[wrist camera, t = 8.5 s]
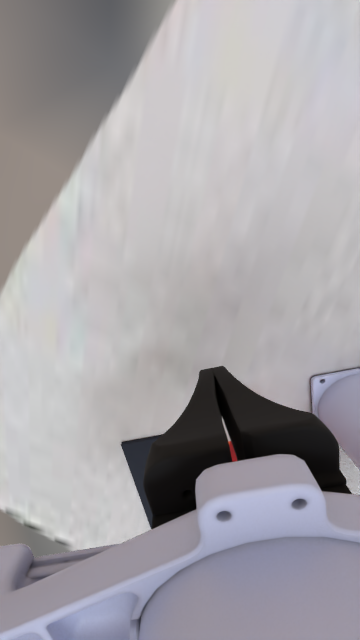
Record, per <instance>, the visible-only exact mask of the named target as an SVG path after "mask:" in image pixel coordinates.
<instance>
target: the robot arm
mask: <svg viewBox="0 0 360 640" xmlns="http://www.w3.org/2000/svg"><path fill="white" fill-rule="evenodd" d="M321 379H323V380H322V381H320V380H321ZM311 395H312V413H308V412H304V411H299V410H295V409H292V408H289V407H285V406H282V405H280V404H277V403H275V402H272V401H270V400H268V399H266V398H264V397H262V396H260V395H258V394H256V393H255V392H253V391H252V390H250V389H249V388H247V387H246V386H245V385H243V384H242V383H241V382H240V381H238V380H237V379H236V378H235V377H234V376H233V375H232V374H231V373H230V372H229V371H228V370H227V369H226V368H225V367H223V366H220V367H215V368H209V369H204V370H201V371H200V372H199V379H198V382H197V385H196V388H195V391H194V393H193V395H192V398H191V400H190V402H189V404H188V405H187V407H186V409H185V410H184V412H183V413H182V415H181V416H180V417H179V419H178V420H177V421H176V422H175V424H174V425H173V426H172V427H171V428H170V429H169V430H168V431H167V432H165V433H164V434H163V435H162V436H161V437H159V438H158V439H157V440H156V441H154V442H153V443H152V445H151V447H150V451H149V454H148V457H147V461H146V465H145V472H144V480H143V487H144V492H145V495H146V497H147V500H148V503H149V506H150V509H151V512H152V515H153V518H152V530H149V531H147V532H145V533H143V534H141V535H138V536H136V537H134V538H132V539H130V540H127V541H125V542H123V543H121V544H115V545H109V546H103V547H96V548H90V549H84V550H77V551H71V552H65V553H59V554H53V555H46V556H40V557H34V556H33V554H32V551H31V549H30V548H29V547H28V546H27V545H25V544H12V545H6V546H0V640H360V495H355V494H352V493H351V492H350V490H349V489H348V487H347V486H346V479H345V477H344V476H343V474H342V473H341V471H340V470H339V446H338V443H339V445H340V446H341V447H342V448H343V450H344V451H345V452H346V453H347V455H348V456H349V457H350V459H351V460H352V461H353V462H354V464H355V465H356V466H357V467H358V469H359V470H360V368H356V369H351V370H346V371H340V372H335V373H330V374H324V375H319V376H315V377H313V378H312V379H311ZM222 418H223V420H224V423H225V426H226V429H227V431H228V434H229V437H230V440H231V442H232V445H233V448H234V451H235V454H236V457H237V461H235V462H232V457H231V451H230V446H229V442H228V438H227V435H226V432H225V429H224V426H223V422H222Z"/></svg>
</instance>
